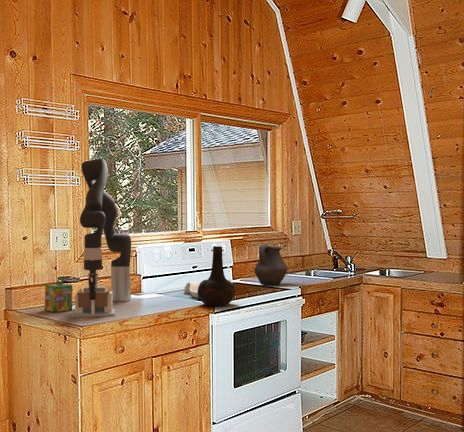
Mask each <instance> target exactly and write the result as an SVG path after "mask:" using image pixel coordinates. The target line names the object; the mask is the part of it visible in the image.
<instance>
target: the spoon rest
mask: <svg viewBox="0 0 464 432" xmlns="http://www.w3.org/2000/svg"><path fill="white" fill-rule="evenodd" d="M199 284H200V283H199V282H198V281H197V282H196V281H193V282H191V281H188V282H187V283H186V284H185V286H184V289H183V294H191V296H193V298H194V299H199V297H198V287H199Z"/></svg>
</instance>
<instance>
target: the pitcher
mask: <svg viewBox="0 0 464 432" xmlns="http://www.w3.org/2000/svg"><path fill="white" fill-rule="evenodd" d="M282 249H283V247H281V246H272V245H268V244H262V245H260V246H258V256H259V257H258V261H257V263H256V265H255V267H254V274H255V276H256V277H257V279H258V281H259V283H260V285H261V284H264V285H263V286H266V285H277V286H280V284H281V283H282V282H283V280H284V278H285V276H286V275H287V272H288V266H287V264H286V263H285V262H284V260H283V258H282V254H281V252H280V251H281V250H282Z"/></svg>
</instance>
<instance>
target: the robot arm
mask: <svg viewBox="0 0 464 432" xmlns="http://www.w3.org/2000/svg"><path fill="white" fill-rule="evenodd" d="M80 169H81V172H82V175H83V178H84V180H85V182H86V184H87V187H88V191H87V192H86V196H85V205H84V208H83V209H82V212H81V213H80V217H79V224H80V226H81V227H82V228H85V229H96V230H95V231H94V232H91V233H87V234H85V235H84V237H83V238H84V241H83V242H84V246H83V247H84V248H83V249H84V250H83V270H85V271H89V273H88V274H87V280H88V283H87V285H88V287H89V290H90V300H95V292H96V289H97V286H98V278H99V274H98V273H97V271H101V270H102V269H103V251H102V237H103V236H102V235H103V232H104V236H105V240H106V245H107V248H108V249H109V251H110V252H111V253H120V255H119V257H117V258H115V259H112V260H111V261H110V282H111V283H110V291H112V302H128V301H130V300H131V299H132V295H131V294H132V291H131V290H132V289H131V287H132V282H131V264H130V263H131V260H132V256H131V255H132V238H131V236H130V235H129V234H127V233H116V231H115V229H114V227H115V226H114V225H115V222H116V219H117V217H118V208H117V205H116V202H115V200H114V198H113V197H112V196H111V195H110V194H109V193H108V192H106V191H105V188H106V183H107V179H108V175H109V171H108V170H109V168H108V165H107V161H106V160H105V159H104V158H97V159H91V160H87V161H83V162H82V163H81V168H80Z"/></svg>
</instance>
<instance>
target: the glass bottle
mask: <svg viewBox="0 0 464 432" xmlns="http://www.w3.org/2000/svg"><path fill="white" fill-rule="evenodd" d="M210 251H211V252H212V263H211V271H210V274H209V278H207V279H204V280H202V281H201V282H200V283H199V287H198V297H199V298H198V299H199V300H200V301H201V302H202V303H203V304H204V305H207V306H209V307H225V306H227V305H229V304H230V303H232V301H233V300H234V298H235V297H236V296H235V295H236V288H235V285H234V284H233V283H232V281H230V280H228V279H227V278H226V276H225V272H224V262H223V252H225V250H224V249H223V246H217V245H214V246H212V249H211V250H210Z"/></svg>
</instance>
